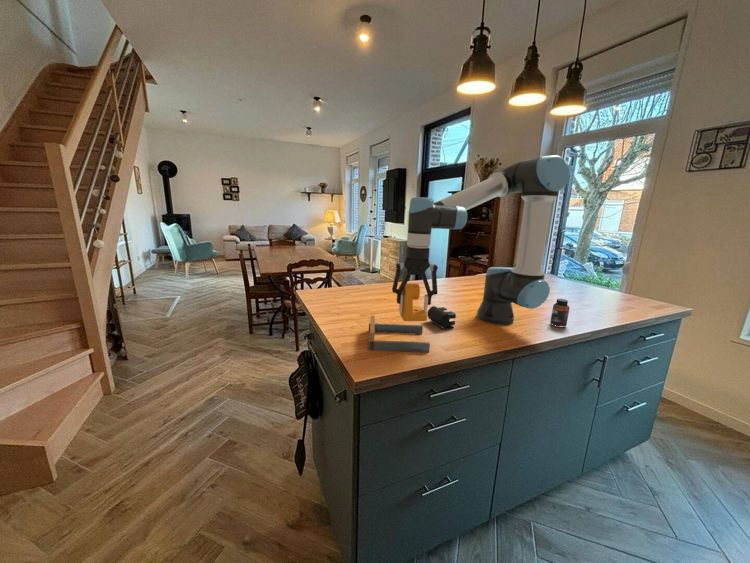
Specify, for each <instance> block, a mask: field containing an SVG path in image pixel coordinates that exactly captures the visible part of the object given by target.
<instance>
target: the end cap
mask: <svg viewBox="0 0 750 563" xmlns="http://www.w3.org/2000/svg"><path fill="white" fill-rule="evenodd" d="M456 318H457V314H456V313H455V312H453V311H448V309H447V307H437V306H436V305H432V306H431V307H429V309H427V319H429V320H430V321H431V322H433V323H434V324H436V325H437V326H439V327H440V328H442V329H444V330H451V329H454V328H455V325H456V321H455V320H451V319H456Z"/></svg>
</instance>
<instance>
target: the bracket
mask: <svg viewBox="0 0 750 563" xmlns="http://www.w3.org/2000/svg"><path fill="white" fill-rule="evenodd" d="M420 288H421V287H420V285H419V283H406V285H405V287H404V289H403V291H402V293H403V307H402V314H400V313H399V315H400V317H401V319H402V321H404V322H427V319H428V315H427V314H426V313H425V312H424V311H423V310H424V309H423V308H422V307H421V306H420V305H414V304H413V302H414V301H415V300H416V301H417V300H420V295H421V292H420V290H421V289H420ZM399 306H400V304H399V305H398V307H399Z"/></svg>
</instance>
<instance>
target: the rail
mask: <svg viewBox="0 0 750 563" xmlns="http://www.w3.org/2000/svg"><path fill="white" fill-rule="evenodd" d="M423 328H424V326H423V325H421V324H420V325H419V324H399V323H398V324H397V323H396V324H394V323H376V318H375V315H370V321H369V322H368V333H369V339H367V351H381V352H382V351H386V352H387V351H388V352H411V353H415V352H416V353H430V349H431V348H430V345H431V343H430V342H427V341H426V342H425V341H423V342H421V341H403V340H402V341H398V340H380V339H379V340H378V339H377V340H376V339H375V333H389V334H395V333H396V334H411V335H412V334H414V335H415V334H417V335H418V334H419V335H422V334H423Z"/></svg>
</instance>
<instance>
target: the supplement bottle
mask: <svg viewBox="0 0 750 563" xmlns="http://www.w3.org/2000/svg"><path fill="white" fill-rule="evenodd" d="M569 313H570V306H569V300H567V299H564V298H557V299H556V302H555V303H553V305H552V311H551V314H550V315H551V316H550V321H549V324H550V323H551V324H553V325H556V326H566V327H567V325H568V324H567V323H568V318H569ZM551 324H550V325H551ZM553 325H552V326H553Z"/></svg>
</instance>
